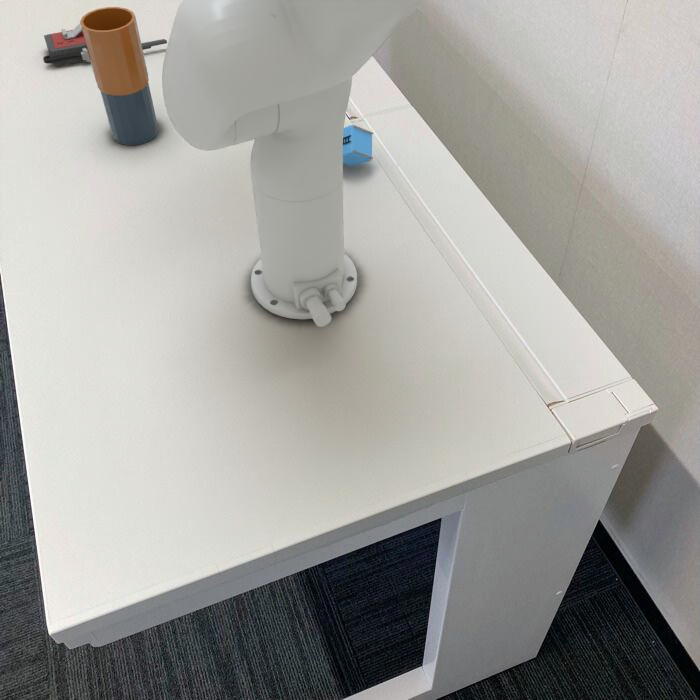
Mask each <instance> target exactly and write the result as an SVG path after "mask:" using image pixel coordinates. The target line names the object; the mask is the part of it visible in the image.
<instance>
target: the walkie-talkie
mask: <svg viewBox="0 0 700 700" xmlns="http://www.w3.org/2000/svg"><path fill="white" fill-rule="evenodd" d="M43 38H44V42H45V44H46V48H47V51H48V54H46V55H44V56H43V58H42V60H43V62H44V63H45V64H51V65H52V66H57V67H61V66H67V65H71V64H73V65H74V64H78V63H83V62H87V63H91V61H90V58H89V54H88V50H87V47H86V43H85V39H84V36H83V32H82V28H81V24H80V23H78V24H77V25H76V26H75V27H74V28H73V29H70V30H66V28H61V31H59V32H54V33H49V34H45V35H43ZM166 44H168V40H167V39H165V38H162V39H157V40H151V41H146V42H141V45H142V49H143V51H144V50H149V49H151V48H152V47H156V46H161V45H166Z"/></svg>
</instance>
